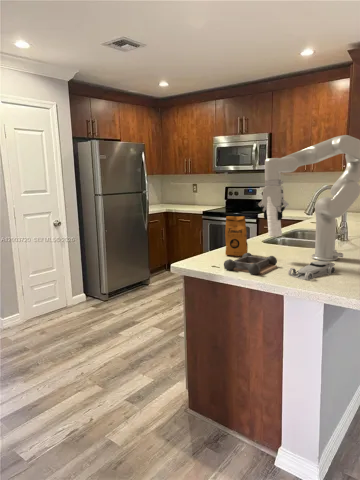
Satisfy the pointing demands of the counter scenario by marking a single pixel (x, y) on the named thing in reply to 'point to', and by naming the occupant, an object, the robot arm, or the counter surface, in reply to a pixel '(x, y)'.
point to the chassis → (251, 264)
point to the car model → (313, 270)
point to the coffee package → (236, 236)
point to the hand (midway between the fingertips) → (273, 219)
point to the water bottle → (273, 219)
